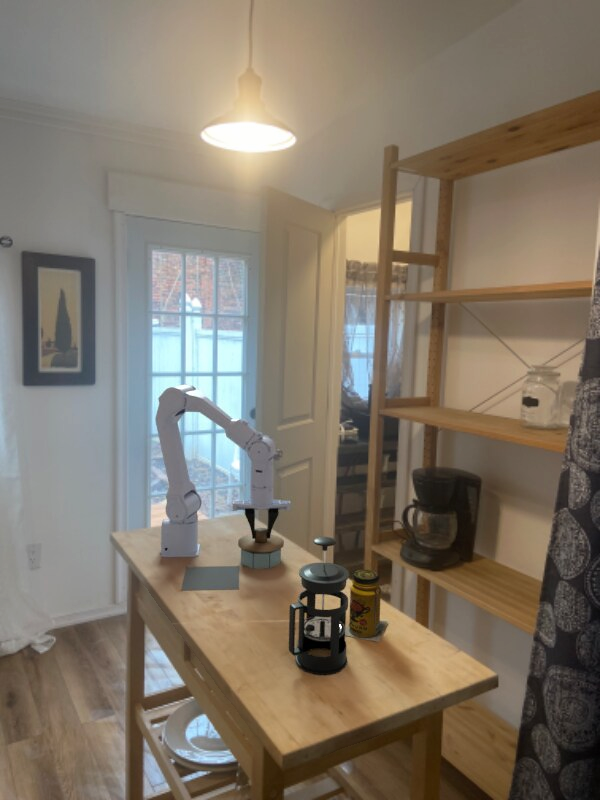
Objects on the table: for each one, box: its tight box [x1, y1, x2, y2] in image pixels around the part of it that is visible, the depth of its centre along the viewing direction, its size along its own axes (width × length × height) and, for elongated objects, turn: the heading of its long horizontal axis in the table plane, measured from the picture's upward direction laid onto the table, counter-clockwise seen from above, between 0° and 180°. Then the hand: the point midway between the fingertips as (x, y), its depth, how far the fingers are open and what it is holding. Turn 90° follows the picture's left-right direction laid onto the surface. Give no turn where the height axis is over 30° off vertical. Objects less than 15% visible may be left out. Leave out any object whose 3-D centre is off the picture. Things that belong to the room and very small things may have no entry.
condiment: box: [345, 569, 389, 643], centre depth 120 cm, size 7×8×12 cm
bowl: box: [240, 548, 282, 569], centre depth 153 cm, size 10×10×4 cm
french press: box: [288, 536, 350, 676], centre depth 107 cm, size 12×9×23 cm
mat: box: [180, 565, 240, 592], centre depth 142 cm, size 13×13×1 cm
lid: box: [237, 527, 285, 553], centre depth 152 cm, size 12×12×4 cm
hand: (261, 537), depth 152 cm, fingers closed on lid, 3 cm apart
